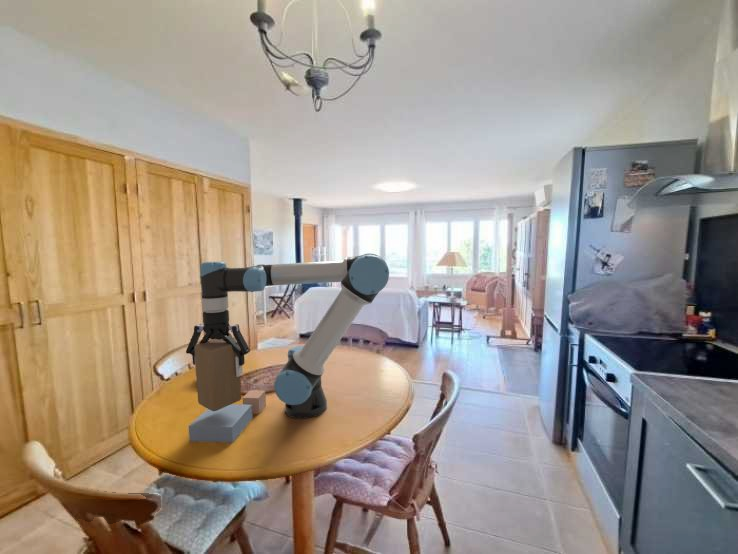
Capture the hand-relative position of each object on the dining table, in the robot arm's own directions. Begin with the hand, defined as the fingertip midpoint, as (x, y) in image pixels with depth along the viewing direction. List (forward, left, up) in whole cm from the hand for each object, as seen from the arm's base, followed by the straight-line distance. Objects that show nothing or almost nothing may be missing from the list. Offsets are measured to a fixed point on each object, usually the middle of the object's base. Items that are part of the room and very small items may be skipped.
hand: (219, 374), depth 105 cm
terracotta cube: (-5, -13, -19) cm, 23 cm away
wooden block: (0, 0, -9) cm, 9 cm away
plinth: (0, 0, -19) cm, 19 cm away
